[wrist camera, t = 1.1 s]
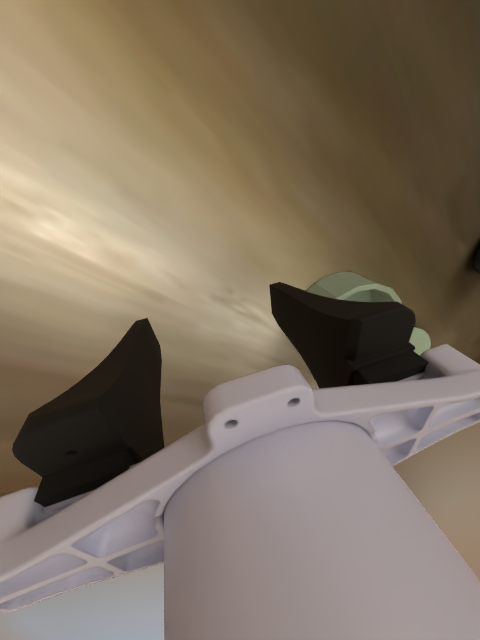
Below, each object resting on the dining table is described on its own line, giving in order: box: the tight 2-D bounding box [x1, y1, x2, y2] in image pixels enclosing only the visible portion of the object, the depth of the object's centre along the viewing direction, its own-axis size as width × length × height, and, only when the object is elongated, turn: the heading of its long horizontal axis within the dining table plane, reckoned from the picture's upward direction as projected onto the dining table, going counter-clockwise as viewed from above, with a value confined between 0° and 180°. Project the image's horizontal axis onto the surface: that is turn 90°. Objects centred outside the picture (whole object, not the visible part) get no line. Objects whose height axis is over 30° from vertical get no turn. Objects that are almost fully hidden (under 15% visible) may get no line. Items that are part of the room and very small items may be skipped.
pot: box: [307, 272, 401, 303], centre depth 28 cm, size 12×12×4 cm
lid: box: [409, 327, 431, 355], centre depth 35 cm, size 12×12×4 cm
